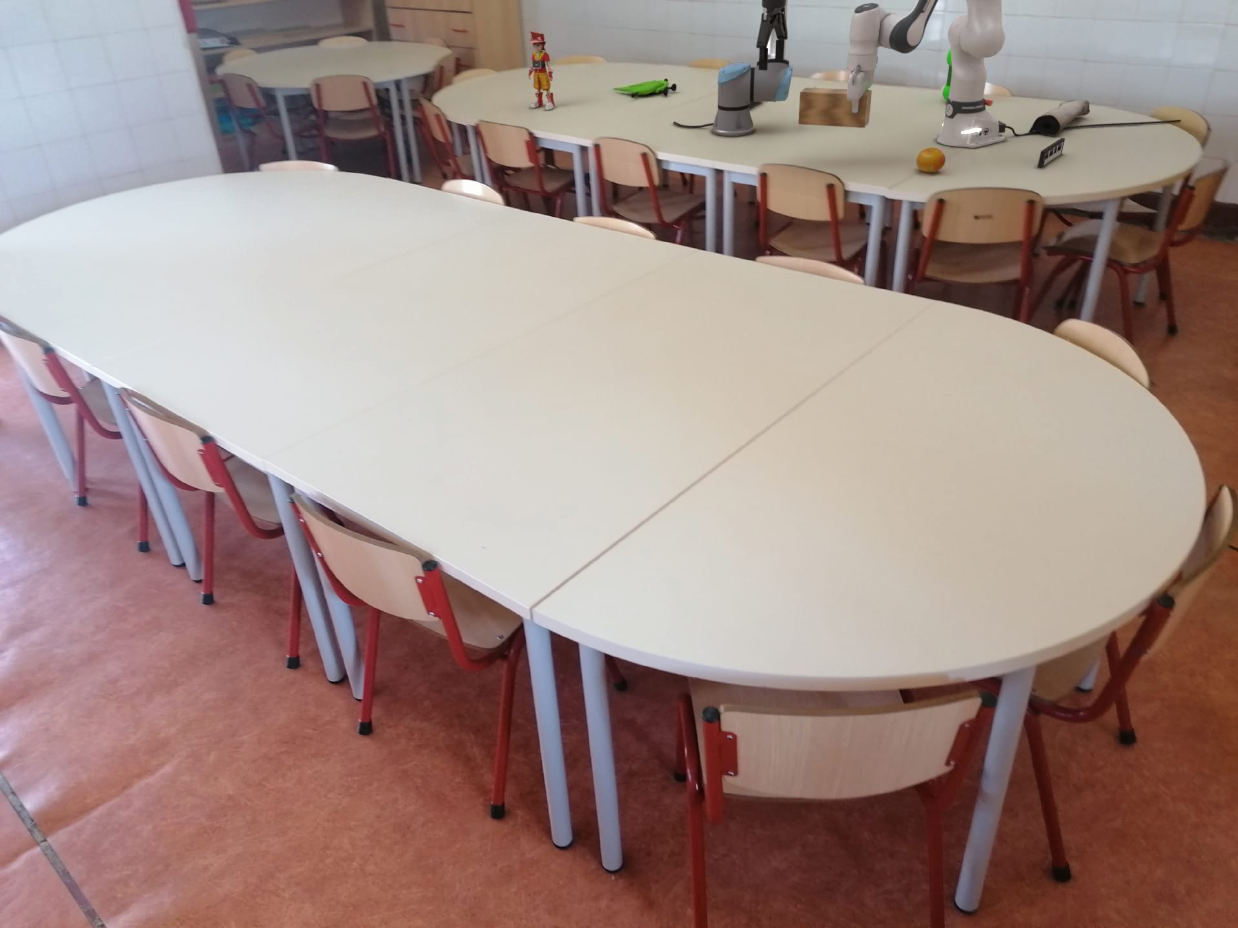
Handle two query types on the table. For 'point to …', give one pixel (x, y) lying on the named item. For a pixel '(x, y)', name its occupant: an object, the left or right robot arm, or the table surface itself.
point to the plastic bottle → (947, 86)
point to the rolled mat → (1060, 117)
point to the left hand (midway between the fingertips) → (771, 66)
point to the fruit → (930, 160)
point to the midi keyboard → (1051, 152)
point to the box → (832, 108)
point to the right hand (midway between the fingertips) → (858, 109)
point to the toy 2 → (648, 88)
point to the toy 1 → (541, 71)
